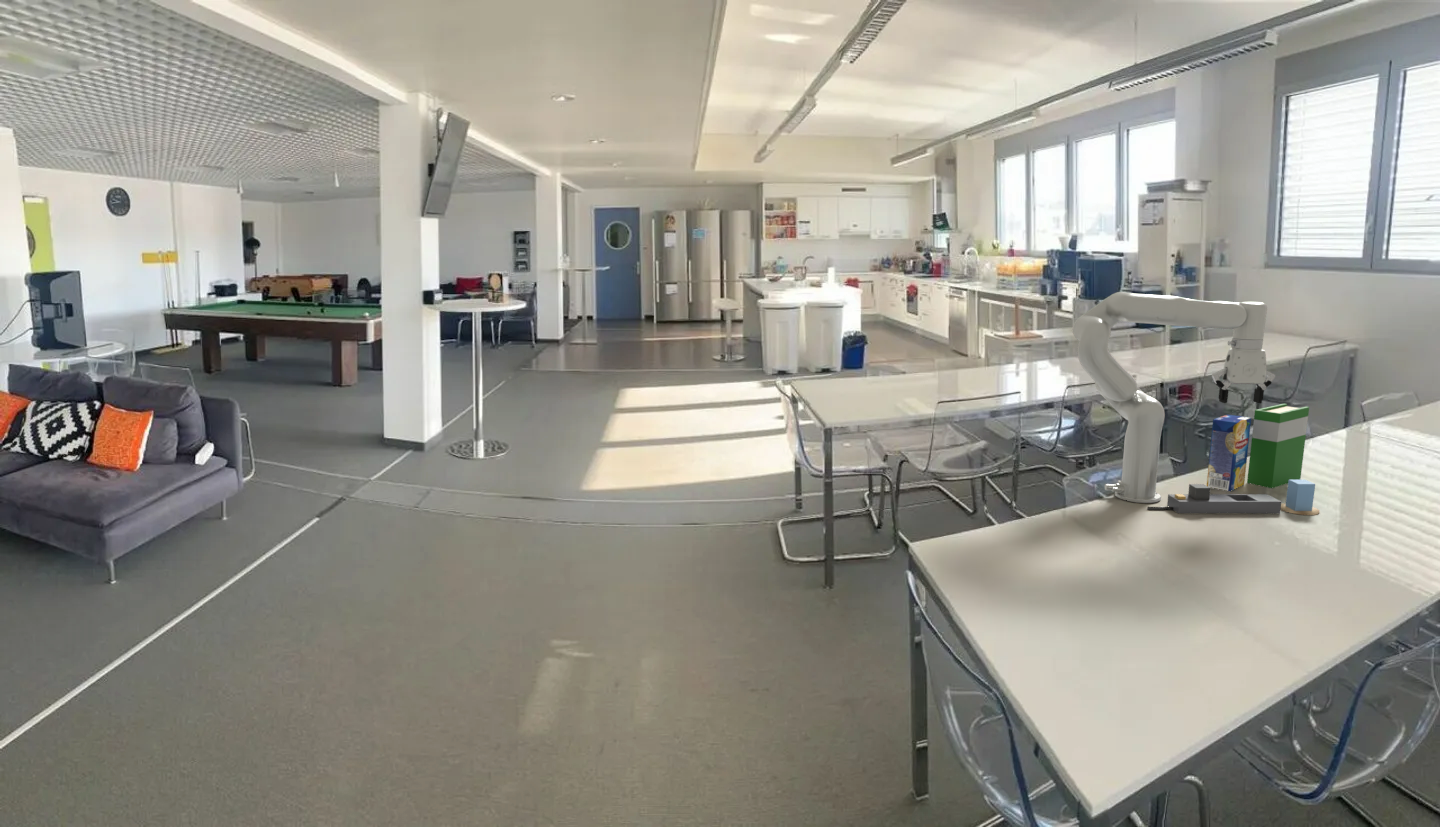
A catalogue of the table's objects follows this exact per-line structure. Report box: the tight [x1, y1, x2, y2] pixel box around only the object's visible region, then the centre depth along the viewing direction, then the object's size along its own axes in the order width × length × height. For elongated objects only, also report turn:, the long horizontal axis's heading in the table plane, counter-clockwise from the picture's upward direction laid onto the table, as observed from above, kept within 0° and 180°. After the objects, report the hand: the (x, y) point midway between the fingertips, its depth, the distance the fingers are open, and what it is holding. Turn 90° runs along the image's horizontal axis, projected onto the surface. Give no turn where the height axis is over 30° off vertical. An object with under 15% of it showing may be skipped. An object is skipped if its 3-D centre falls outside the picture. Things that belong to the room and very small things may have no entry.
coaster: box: [1280, 502, 1321, 516], centre depth 237 cm, size 10×10×1 cm
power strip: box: [1146, 483, 1282, 515], centre depth 238 cm, size 35×7×7 cm, turn 86°
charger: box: [1285, 479, 1316, 511], centre depth 236 cm, size 5×5×8 cm
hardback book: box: [1246, 403, 1310, 489], centre depth 263 cm, size 18×7×24 cm, turn 120°
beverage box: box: [1206, 414, 1252, 492], centre depth 259 cm, size 7×11×22 cm, turn 128°
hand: (1240, 402), depth 242 cm, fingers open, 9 cm apart
